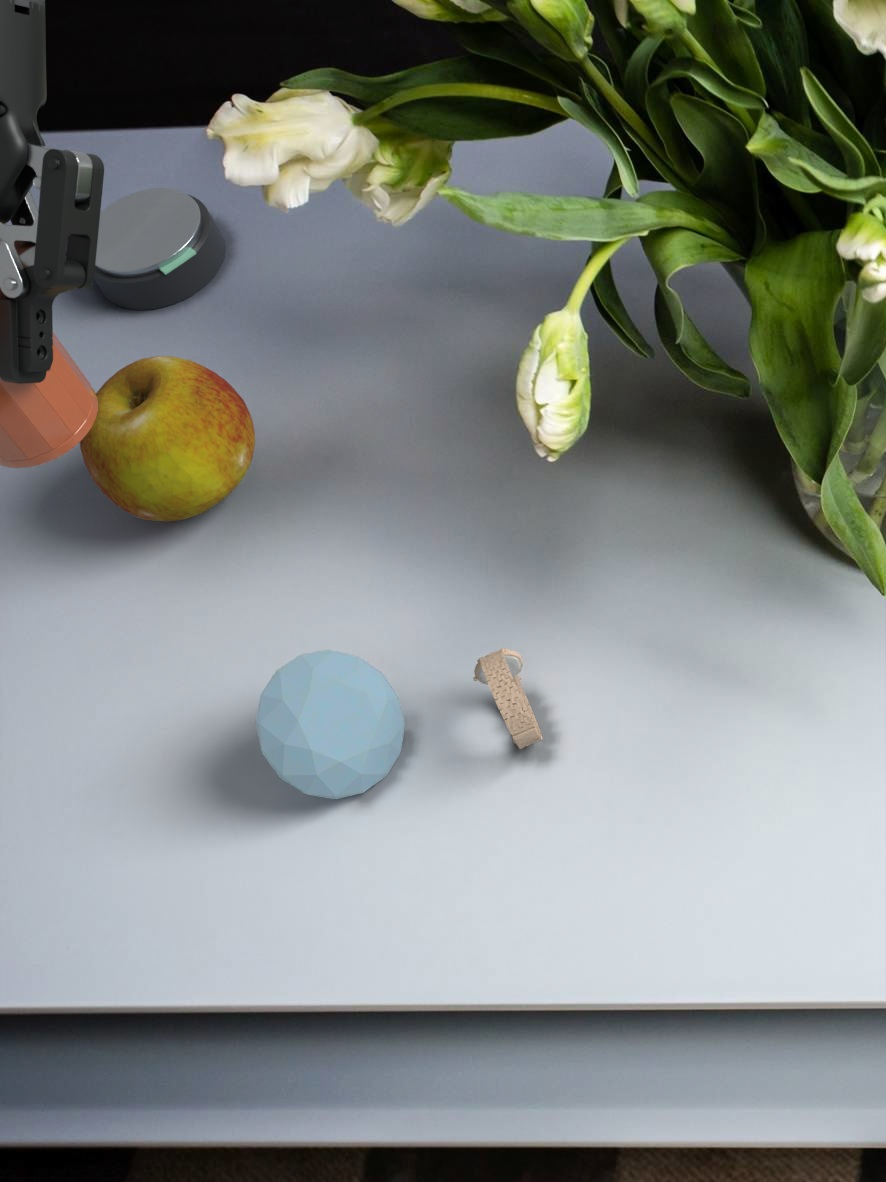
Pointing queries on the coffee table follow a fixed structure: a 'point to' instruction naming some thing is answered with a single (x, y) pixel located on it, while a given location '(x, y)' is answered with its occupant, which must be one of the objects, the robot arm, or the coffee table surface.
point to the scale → (156, 249)
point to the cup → (45, 413)
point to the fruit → (168, 439)
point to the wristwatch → (509, 694)
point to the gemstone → (330, 724)
